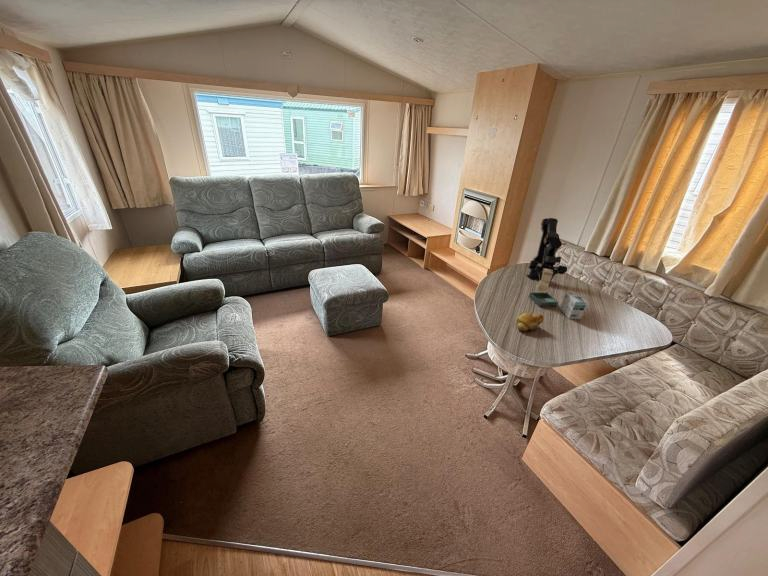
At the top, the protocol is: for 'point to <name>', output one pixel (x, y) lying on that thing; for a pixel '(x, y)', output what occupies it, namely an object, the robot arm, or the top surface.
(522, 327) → the bread roll
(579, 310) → the light bulb box
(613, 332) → the top surface
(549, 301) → the grey green tray
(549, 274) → the tall beech block
